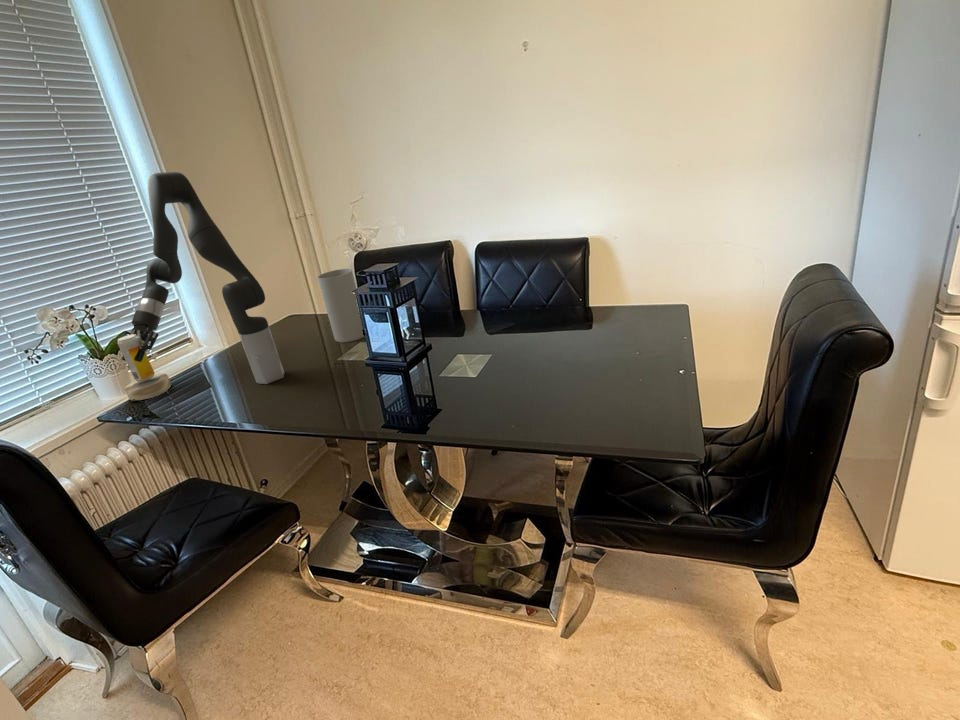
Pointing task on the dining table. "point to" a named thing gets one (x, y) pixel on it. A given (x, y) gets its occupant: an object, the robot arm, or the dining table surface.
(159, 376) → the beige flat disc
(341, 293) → the cylinder vase
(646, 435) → the dining table surface
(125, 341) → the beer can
